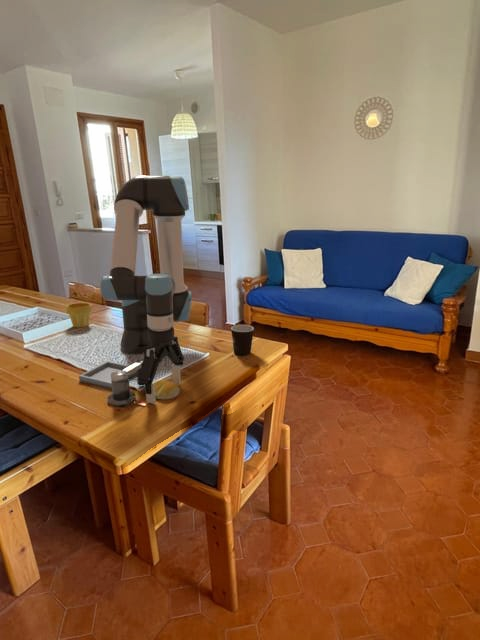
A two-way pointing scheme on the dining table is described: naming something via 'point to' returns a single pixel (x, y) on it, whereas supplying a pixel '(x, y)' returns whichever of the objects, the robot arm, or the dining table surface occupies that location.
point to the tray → (103, 374)
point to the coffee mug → (242, 339)
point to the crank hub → (122, 395)
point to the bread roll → (166, 390)
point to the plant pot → (79, 314)
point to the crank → (128, 372)
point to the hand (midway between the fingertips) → (164, 393)
